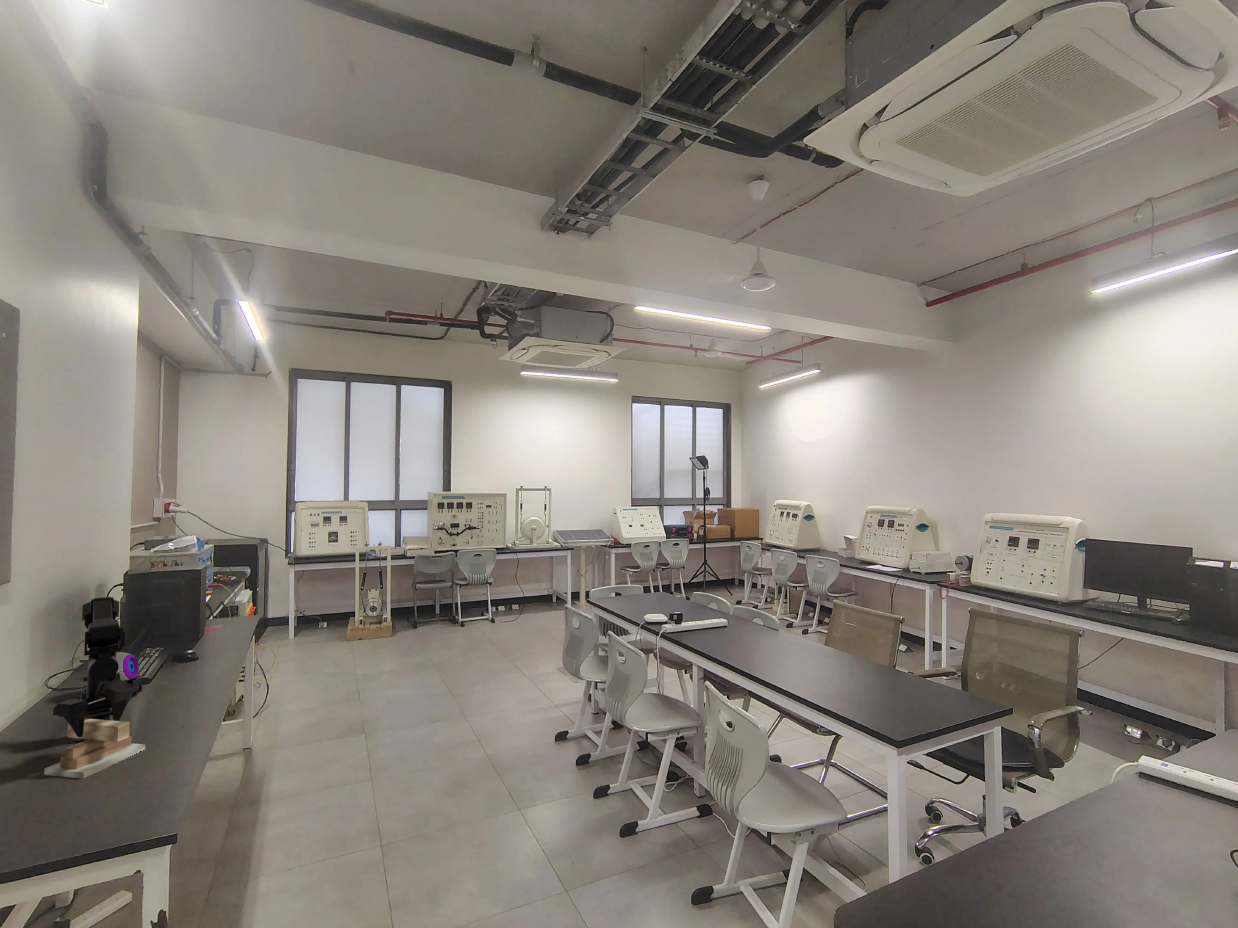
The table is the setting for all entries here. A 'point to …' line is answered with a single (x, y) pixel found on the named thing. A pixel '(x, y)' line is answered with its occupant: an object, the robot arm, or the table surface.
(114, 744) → the ridge stand
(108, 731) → the light wooden block
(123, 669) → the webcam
